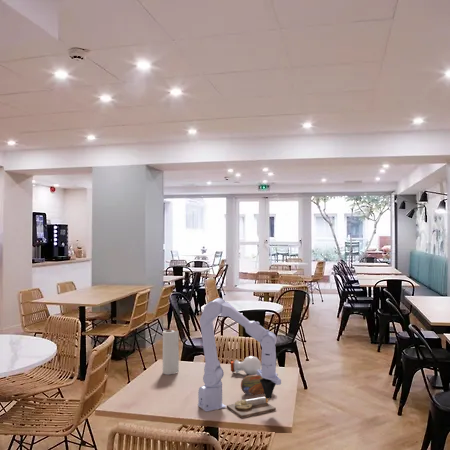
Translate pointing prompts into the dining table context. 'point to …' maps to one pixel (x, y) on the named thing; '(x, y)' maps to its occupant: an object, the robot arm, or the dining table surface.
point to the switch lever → (250, 403)
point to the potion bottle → (246, 365)
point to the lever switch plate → (252, 410)
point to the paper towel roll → (170, 351)
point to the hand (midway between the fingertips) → (268, 397)
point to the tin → (252, 385)
